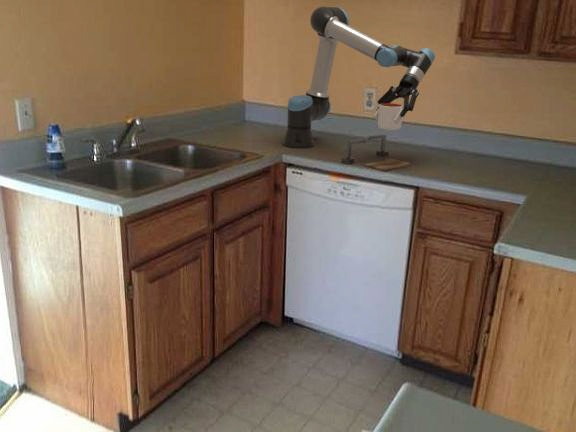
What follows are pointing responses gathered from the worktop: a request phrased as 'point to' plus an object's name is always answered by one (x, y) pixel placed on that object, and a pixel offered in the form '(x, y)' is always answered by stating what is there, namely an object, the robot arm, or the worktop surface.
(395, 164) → the walnut board
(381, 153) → the jointed metal bar
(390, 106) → the cup
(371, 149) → the worktop surface
